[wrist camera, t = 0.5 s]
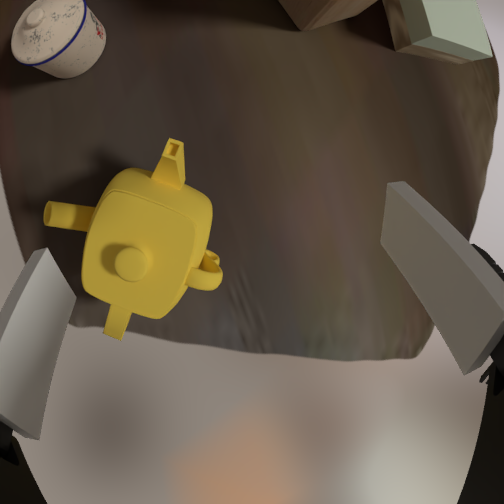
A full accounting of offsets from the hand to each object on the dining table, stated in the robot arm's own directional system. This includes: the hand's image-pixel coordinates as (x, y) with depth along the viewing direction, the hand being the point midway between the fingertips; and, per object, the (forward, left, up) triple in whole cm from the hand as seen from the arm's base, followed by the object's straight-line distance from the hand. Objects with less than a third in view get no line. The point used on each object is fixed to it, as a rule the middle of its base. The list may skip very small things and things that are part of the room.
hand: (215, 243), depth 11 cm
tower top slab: (-23, +34, -21) cm, 46 cm away
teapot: (+3, -8, -25) cm, 27 cm away
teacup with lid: (-22, -15, -25) cm, 36 cm away
